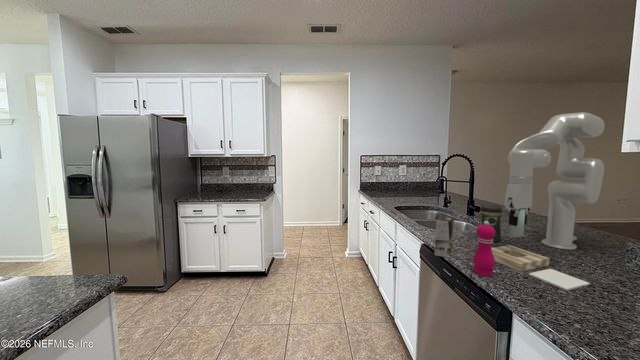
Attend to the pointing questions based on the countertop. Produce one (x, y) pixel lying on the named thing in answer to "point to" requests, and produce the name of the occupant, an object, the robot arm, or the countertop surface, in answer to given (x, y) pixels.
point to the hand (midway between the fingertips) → (517, 224)
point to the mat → (559, 279)
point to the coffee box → (444, 236)
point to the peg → (519, 224)
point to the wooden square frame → (518, 258)
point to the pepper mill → (484, 250)
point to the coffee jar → (492, 218)
